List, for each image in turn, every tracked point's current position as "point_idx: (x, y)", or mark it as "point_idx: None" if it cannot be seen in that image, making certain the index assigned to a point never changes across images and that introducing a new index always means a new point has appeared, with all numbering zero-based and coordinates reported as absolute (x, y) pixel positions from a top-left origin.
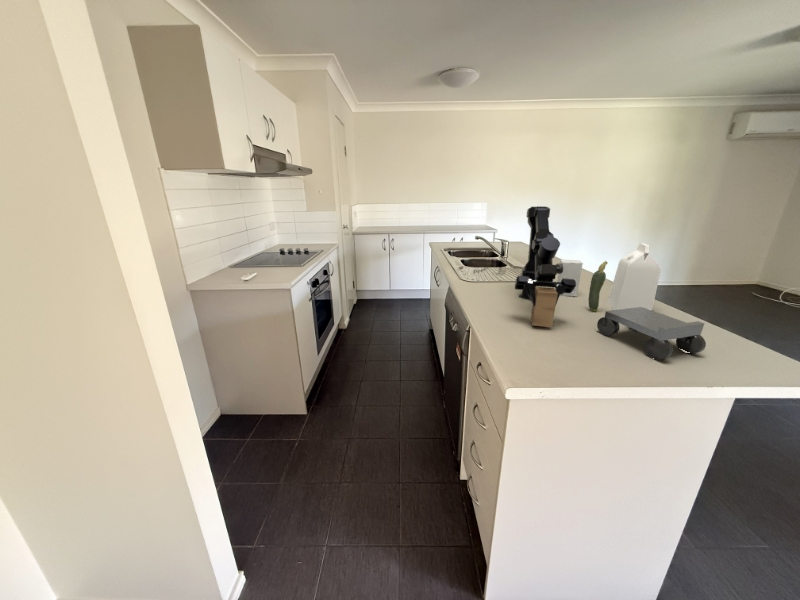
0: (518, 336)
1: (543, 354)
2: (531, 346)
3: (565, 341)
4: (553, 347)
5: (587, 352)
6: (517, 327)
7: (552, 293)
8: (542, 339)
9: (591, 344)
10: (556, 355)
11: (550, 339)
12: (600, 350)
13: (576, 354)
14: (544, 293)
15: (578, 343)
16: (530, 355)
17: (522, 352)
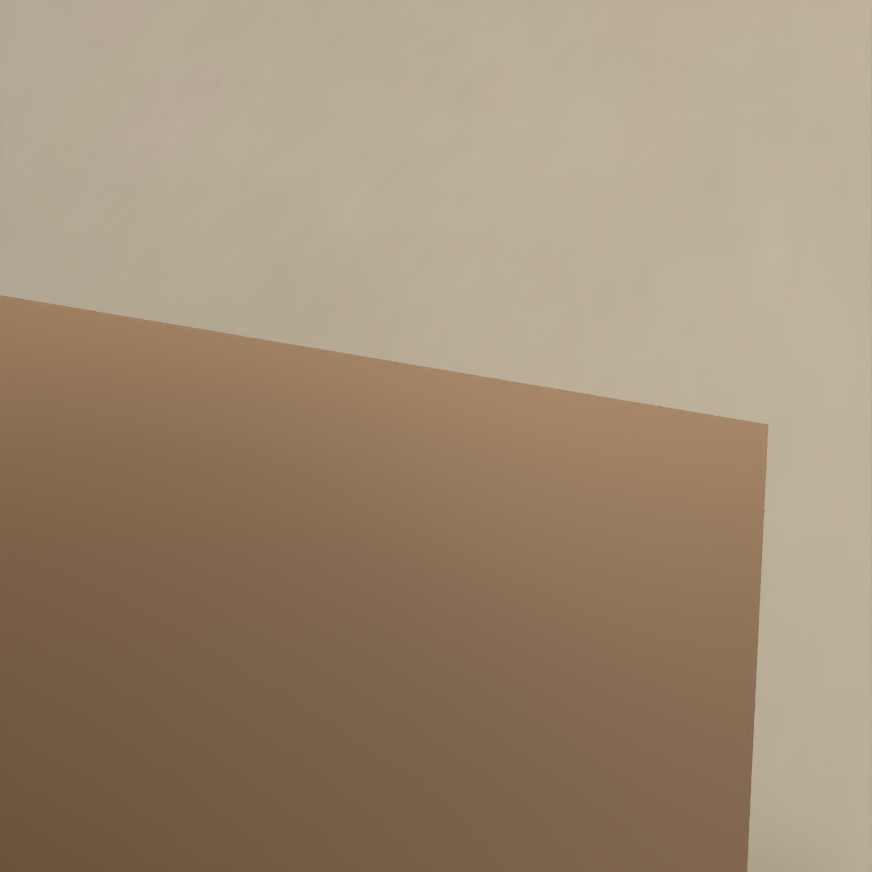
0: (799, 397)
1: (614, 57)
2: (691, 180)
3: (261, 309)
4: (463, 177)
5: (178, 116)
6: (770, 708)
7: (28, 316)
8: (513, 338)
9: (16, 263)
10: (499, 51)
11: (415, 345)
12: (24, 158)
13: (305, 79)
14: (405, 392)
15: (143, 274)
16: (741, 34)
17: (808, 72)
